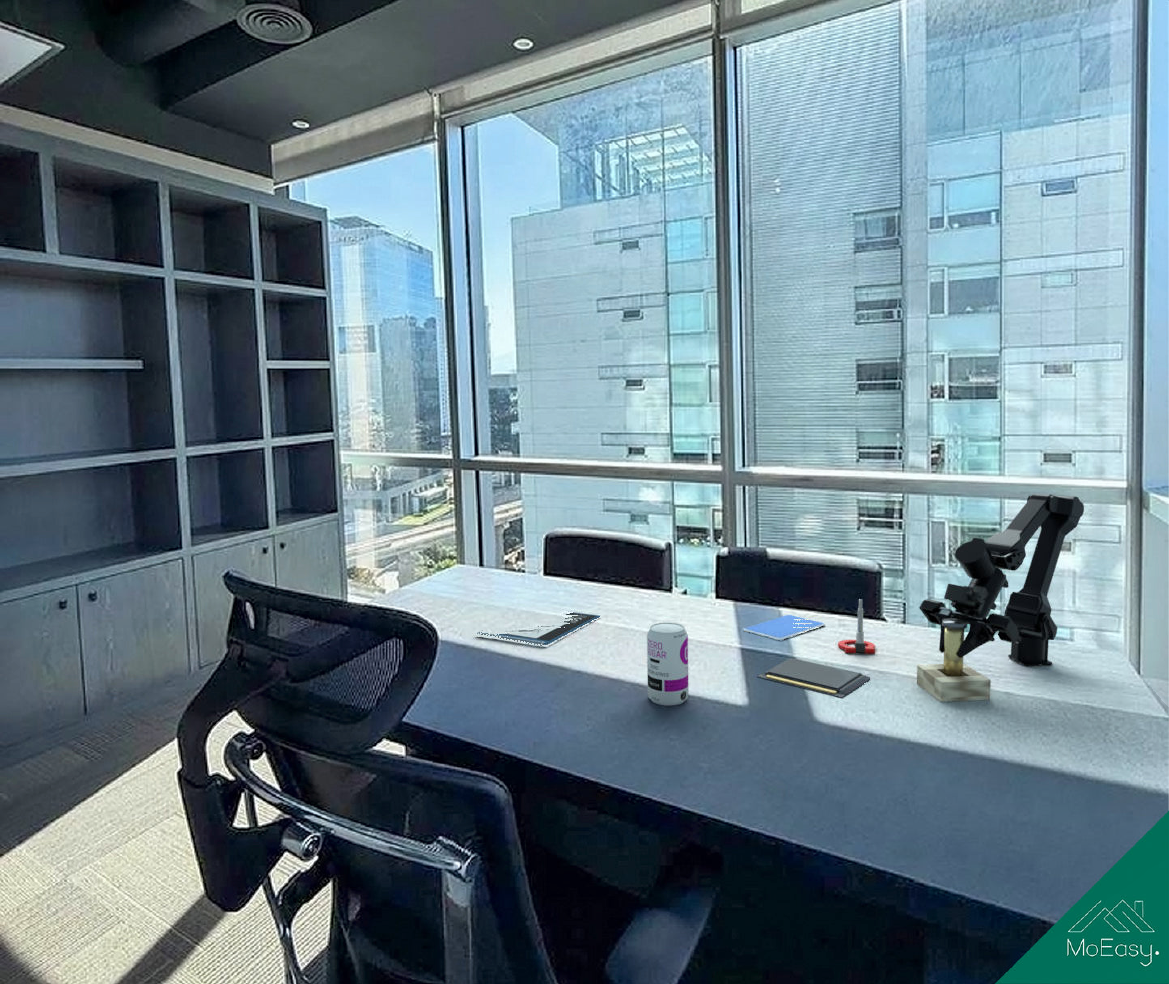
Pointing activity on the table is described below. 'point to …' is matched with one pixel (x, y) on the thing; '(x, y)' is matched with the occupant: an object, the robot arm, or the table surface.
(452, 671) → the table surface
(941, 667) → the socket block
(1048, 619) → the robot arm
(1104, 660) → the table surface
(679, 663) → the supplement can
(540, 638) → the sketchbook
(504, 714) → the table surface
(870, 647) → the tow hook
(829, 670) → the dark gray book
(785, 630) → the tablet computer
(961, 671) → the brass pin
